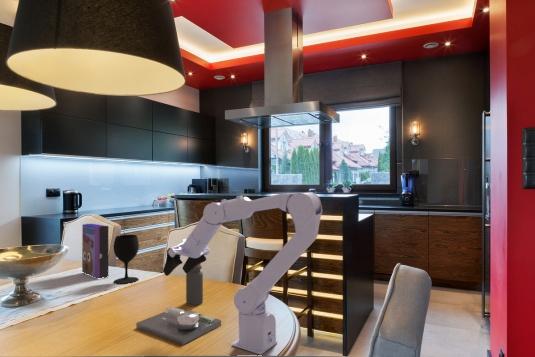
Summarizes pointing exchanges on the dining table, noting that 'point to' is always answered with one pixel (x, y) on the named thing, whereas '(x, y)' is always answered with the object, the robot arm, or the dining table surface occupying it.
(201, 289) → the bottle
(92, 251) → the cereal box
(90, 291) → the dining table surface
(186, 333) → the lever base plate
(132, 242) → the wine glass
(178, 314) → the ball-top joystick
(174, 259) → the robot arm
